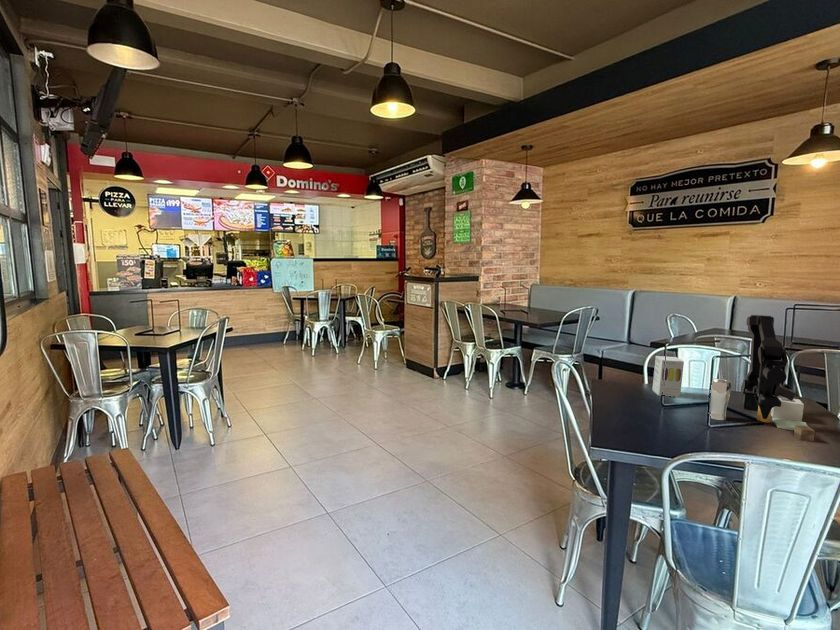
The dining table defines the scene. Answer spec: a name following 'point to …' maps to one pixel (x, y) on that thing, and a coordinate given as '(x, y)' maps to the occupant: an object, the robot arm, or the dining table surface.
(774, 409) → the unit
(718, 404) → the beer glass
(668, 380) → the supplement box
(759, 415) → the orange knob
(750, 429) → the dining table surface
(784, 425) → the pad
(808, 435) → the walnut block
